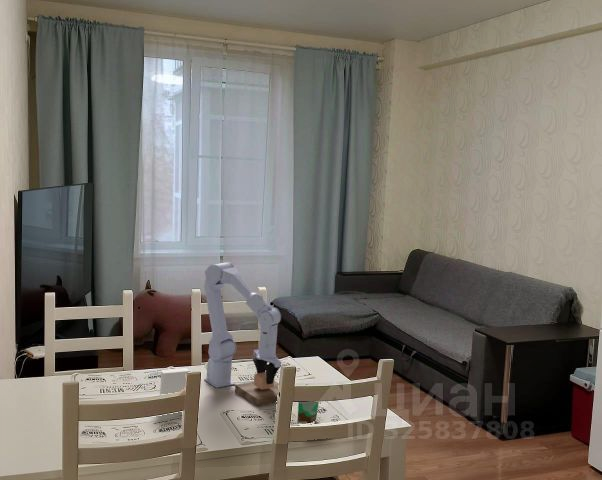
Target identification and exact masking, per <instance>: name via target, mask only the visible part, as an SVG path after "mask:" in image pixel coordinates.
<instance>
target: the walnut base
mask: <svg viewBox="0 0 602 480" xmlns="http://www.w3.org/2000/svg"><path fill="white" fill-rule="evenodd" d="M279 384H280V383H279V382H277V381H276V380H274V387H273V388H268V389H262V390H261V389H260V388H258V387H256V386H255V385H254V381H249V382H244V383H237V384H235V385H234V386H235V387H234V392H235V393H236V394H238V395H239V396H240V397H242V398H244V399H246V400H247V401H248V402H250V403H252V404H253V405H255V406H256V407H262V406H268V405H272V404H276V403H275V402H276V401H277V395H278V385H279Z"/></svg>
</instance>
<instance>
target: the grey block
mask: <svg viewBox="0 0 602 480" xmlns="http://www.w3.org/2000/svg"><path fill="white" fill-rule="evenodd" d="M190 371H191V370H190V369H189V368H187V367H184V368H182V367H181V368H172V369H171V368H170V369H162V370H161V371H160V388H159V389H160V391H159V392H160V393H159V396H160V395H161V394H168V393H175V392H179V391H181V390H182V389H184V387H185V374H186V373H188V372H190ZM190 373H191V372H190Z"/></svg>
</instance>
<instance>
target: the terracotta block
mask: <svg viewBox="0 0 602 480" xmlns="http://www.w3.org/2000/svg"><path fill="white" fill-rule="evenodd" d="M274 381H275V380H274ZM274 381H273V384H267V382H266V371H265V372H263V373H257V372H256V373H254V378H253V382H254V385H255V386H256V387H258V388H260V389H261V390H262V389H268V388H273V387H274Z"/></svg>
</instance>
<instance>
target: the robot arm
mask: <svg viewBox="0 0 602 480" xmlns="http://www.w3.org/2000/svg"><path fill="white" fill-rule="evenodd" d="M204 275H205V281H204V286H203V287H204V292H205V299H206V304H207V310H208V316H209V320H210V321H209V323H210V326H211V333H212V335H211V337H210V339H209V340H208V345H209V346H208V356H209V359H207V363H206V377H204V379H203V380H204V381H206V382H207V383H209V384H210V385H212V386H213V387H215V388H216V389H217V388H223V387H229V386H235V385H236V383H235V382H234V381H233V380H232V379H231V378H232V365H233V357H234V355H235V354H236V352H237V348H238V347H237V343H236V342H235V341H234V338H233V335H232V334H231V333H230V332H229V331H228V326H227V320H226V314H225V308H224V303H223V298H222V293H221V289H222V288H223V287H224V285H225V284H227V285H228V284H229V285H231V286H232V287H233V288H234V289H235V290H237V291H238V293H239V294H241V296H242V297H243V298H244V299H245V300H246V302H245V304H246V306H247V307H249V309H250V310H251V311H252V312H253V313H254V315H255V316H256V317H257V321H258V324H259V327H260V328H259V329H260V333H259V349H254V350H253V354H252V355H253V356H254V357H256V358H253V359H252V361H253V364H254V366H255V369H256V374H257V373H263V372H266V382H267V384H273V381H275V378H276V375H277V373H278V372H279V369H280V368H281V367H282V361H281V360H280V359H279V358H278V357H277V355H276V350H277V337H278V326H279V325H278V324H279V323H280V322H281V320H282V314H281V312H280V310H279V309H278V308H277V307H272V305H271V304H269V302H267V301H266V299H265V298H264V295H263V294H260V293H259V292H254V291H253V290H252V289H251V287H250V286H249V285H248V284H247V282H246V281H245V280H244V278H243V277H242V276H241V275H240V274H239V270H238V268H237V267H236V266H235V265H234V264H233V263H232V262H229V261H225V262H221V263H213V264H210V265H209V266H208V267H207V268H206V269H205V270H204Z"/></svg>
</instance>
